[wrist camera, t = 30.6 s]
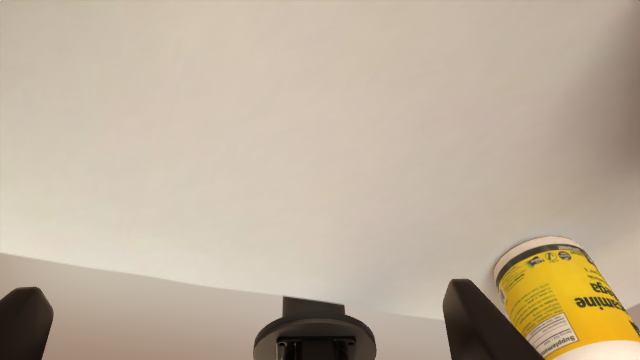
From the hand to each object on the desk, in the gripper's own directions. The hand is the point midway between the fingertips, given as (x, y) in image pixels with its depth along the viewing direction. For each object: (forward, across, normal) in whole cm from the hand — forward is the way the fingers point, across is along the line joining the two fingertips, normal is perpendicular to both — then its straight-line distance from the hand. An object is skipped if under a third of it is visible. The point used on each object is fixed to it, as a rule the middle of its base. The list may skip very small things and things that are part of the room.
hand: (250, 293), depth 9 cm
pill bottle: (+13, -18, +15) cm, 27 cm away
